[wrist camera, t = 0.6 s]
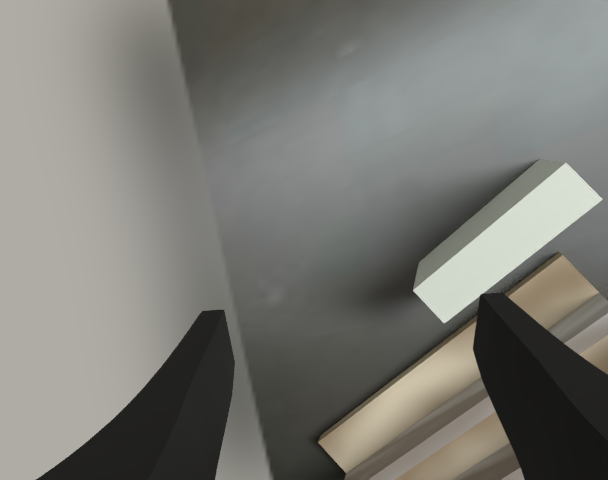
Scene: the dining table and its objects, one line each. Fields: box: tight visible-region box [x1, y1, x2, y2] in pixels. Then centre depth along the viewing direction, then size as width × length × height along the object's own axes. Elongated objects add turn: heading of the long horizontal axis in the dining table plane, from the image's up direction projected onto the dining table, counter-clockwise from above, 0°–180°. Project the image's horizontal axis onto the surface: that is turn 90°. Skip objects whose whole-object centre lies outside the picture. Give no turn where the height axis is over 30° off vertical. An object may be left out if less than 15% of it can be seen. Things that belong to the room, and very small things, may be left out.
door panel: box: [413, 159, 603, 323], centre depth 29 cm, size 2×10×7 cm, turn 135°
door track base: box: [318, 252, 608, 480], centre depth 32 cm, size 12×22×4 cm, turn 135°
